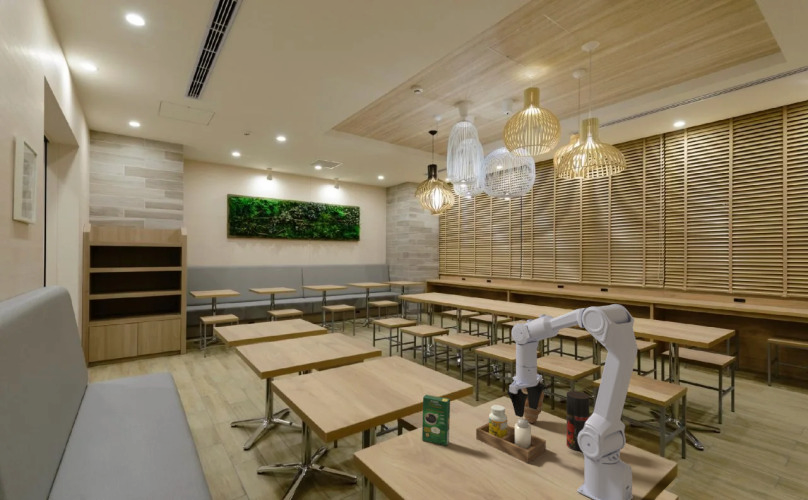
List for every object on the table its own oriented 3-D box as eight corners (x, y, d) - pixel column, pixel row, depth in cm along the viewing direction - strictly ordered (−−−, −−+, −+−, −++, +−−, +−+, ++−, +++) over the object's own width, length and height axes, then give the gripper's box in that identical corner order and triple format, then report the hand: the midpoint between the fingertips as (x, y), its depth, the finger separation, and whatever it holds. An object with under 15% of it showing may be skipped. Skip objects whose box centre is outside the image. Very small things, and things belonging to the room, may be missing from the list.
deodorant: (591, 453, 105) (591, 399, 105) (569, 450, 106) (569, 398, 106) (585, 442, 110) (585, 392, 111) (564, 440, 112) (564, 390, 112)
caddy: (545, 450, 106) (545, 440, 106) (527, 463, 100) (528, 452, 100) (494, 429, 119) (494, 419, 119) (476, 438, 112) (476, 429, 112)
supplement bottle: (511, 441, 111) (511, 409, 111) (497, 445, 109) (497, 412, 109) (498, 433, 116) (498, 402, 116) (485, 437, 113) (485, 406, 113)
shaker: (534, 451, 106) (534, 421, 106) (524, 456, 103) (524, 425, 103) (520, 445, 109) (520, 415, 109) (511, 449, 106) (511, 420, 106)
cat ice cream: (544, 430, 118) (544, 373, 118) (518, 426, 121) (518, 370, 121) (543, 418, 127) (543, 365, 127) (519, 415, 129) (519, 363, 129)
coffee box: (450, 442, 111) (450, 397, 111) (447, 446, 108) (447, 401, 108) (425, 436, 114) (425, 393, 114) (421, 441, 111) (421, 396, 111)
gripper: (526, 357, 115) (526, 401, 115) (500, 366, 105) (499, 414, 105) (548, 362, 110) (548, 408, 110) (522, 372, 100) (522, 423, 100)
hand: (526, 412), depth 107 cm, fingers open, 7 cm apart
